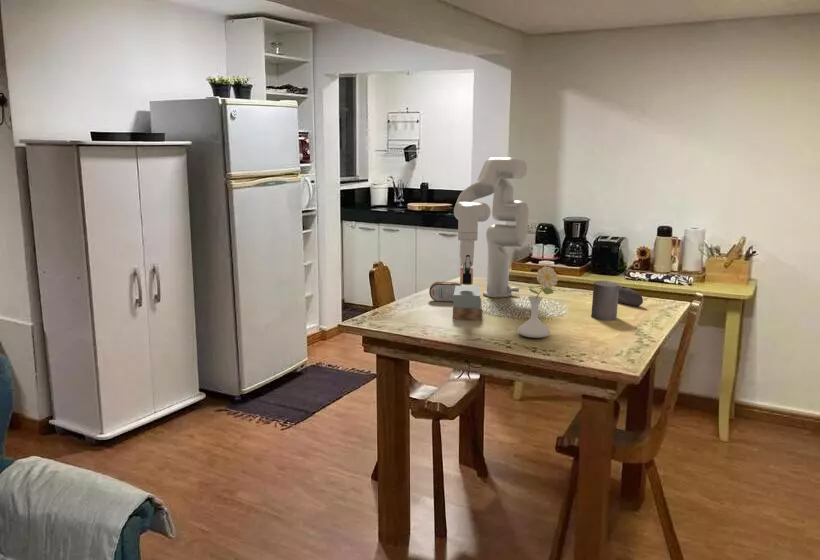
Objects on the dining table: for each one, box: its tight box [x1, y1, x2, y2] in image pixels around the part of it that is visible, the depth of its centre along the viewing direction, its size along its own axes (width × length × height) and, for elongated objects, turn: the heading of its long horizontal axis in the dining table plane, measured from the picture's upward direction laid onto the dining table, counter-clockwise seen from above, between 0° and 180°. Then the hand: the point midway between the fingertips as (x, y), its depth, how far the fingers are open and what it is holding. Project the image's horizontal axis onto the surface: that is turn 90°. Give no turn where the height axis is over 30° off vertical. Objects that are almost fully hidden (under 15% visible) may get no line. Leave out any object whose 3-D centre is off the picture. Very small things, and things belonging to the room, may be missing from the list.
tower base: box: [452, 297, 483, 321], centre depth 263 cm, size 11×19×5 cm, turn 175°
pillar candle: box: [590, 279, 620, 321], centre depth 259 cm, size 10×10×15 cm
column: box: [459, 267, 474, 286], centre depth 261 cm, size 5×5×6 cm
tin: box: [428, 281, 463, 303], centre depth 284 cm, size 15×3×8 cm, turn 84°
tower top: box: [452, 285, 481, 309], centre depth 262 cm, size 10×18×5 cm, turn 174°
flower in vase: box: [516, 265, 559, 339], centre depth 231 cm, size 13×11×25 cm
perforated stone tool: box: [618, 285, 644, 307], centre depth 282 cm, size 15×5×7 cm, turn 29°
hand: (466, 281), depth 261 cm, fingers closed on column, 5 cm apart
